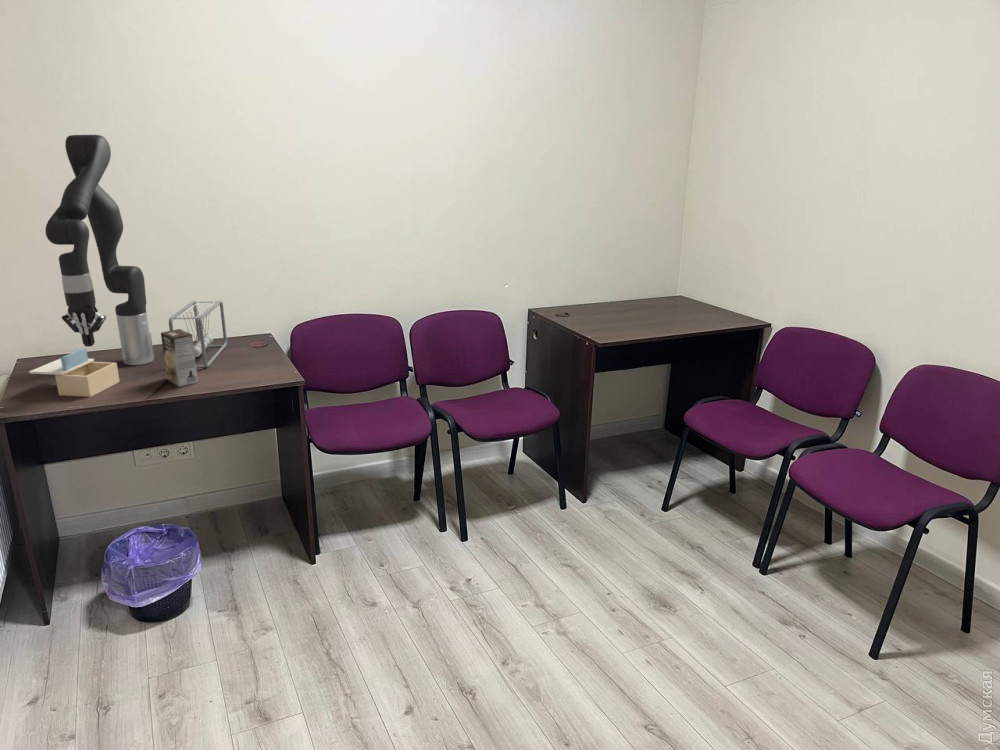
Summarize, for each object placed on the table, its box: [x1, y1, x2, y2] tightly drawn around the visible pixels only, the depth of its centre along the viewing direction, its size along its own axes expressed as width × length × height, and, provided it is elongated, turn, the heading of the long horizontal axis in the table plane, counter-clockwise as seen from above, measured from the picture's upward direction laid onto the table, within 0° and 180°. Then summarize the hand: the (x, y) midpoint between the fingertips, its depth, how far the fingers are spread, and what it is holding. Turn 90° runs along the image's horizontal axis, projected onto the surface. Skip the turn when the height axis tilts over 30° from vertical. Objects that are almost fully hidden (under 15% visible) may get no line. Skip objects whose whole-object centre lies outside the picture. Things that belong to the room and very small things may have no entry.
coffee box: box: [160, 328, 199, 388], centre depth 222 cm, size 9×6×16 cm
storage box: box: [54, 361, 121, 398], centre depth 214 cm, size 14×10×7 cm
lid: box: [28, 347, 95, 376], centre depth 213 cm, size 14×10×5 cm
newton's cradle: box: [168, 299, 228, 368], centre depth 248 cm, size 30×10×18 cm, turn 8°
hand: (89, 345), depth 211 cm, fingers closed
